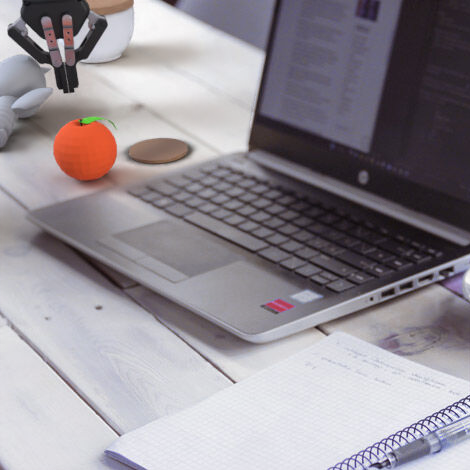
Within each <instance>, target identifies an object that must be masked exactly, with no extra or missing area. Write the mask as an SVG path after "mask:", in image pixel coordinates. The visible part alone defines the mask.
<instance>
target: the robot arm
mask: <svg viewBox="0 0 470 470" xmlns="http://www.w3.org/2000/svg"><path fill="white" fill-rule="evenodd" d="M21 3H22V4H21V8H20V11H19V13H20V14H19V15H20V16H19V17H18V18H17V19H16V20H15V21H14V22H12V23H9V24H8V25H7V36H8V37H9V38H10V39H11V40H12V41H13V42H15V44H16V45H18V46H19V47H20V48H21V49H22V50H24V52H26V53H27V55H29V56H30V57H32V58H33V59H34V60H36V61H37V63H38V64H39V65H45V64H47V65H50V66H51V68H53V73H54V79H55V84H56V88H57V89H58V90H59V91H61V90H62V93H63V94H64V95H65V94H73V93H75V89H78V88H79V87H80V86H79V84H80V82H79V75H78V69H77V64H78V63H79V61H81V60H85V59H87V58H88V57H89V55H90V54H91V52H92V50H93V49H94V47H95V46H96V44H97V42H98V41H99V39H100V38H101V36H102V34H103V33H104V31H105V30H106V28H107V26H108V23H107V19H106V17H105V16H104V15H98V14H96V13H94V12H93V11H91V10H90V7H89V4H88V3H87V1H86V0H21ZM87 18H88V19H89V21H88V27H89V29H90V30H89V32H88V33H87V35H86V36H85V38H84V40H83V41H82V43H81V45H80V46H79V48H77V49H75V50H74V37H75V36H76V35H78V33H79V31H80V30H81V28H82V26H83V24H84V23H85V21H86V19H87ZM27 26H28V27H29V28H30V29H31V30H32V31H33V32H34V33H35V34H36V35H37V36H38V37H39V38H40V39H42V40H43V41H44V40H45V42H46V45H47V49H48V51H47V50H44V49H43V48H42V47H41V46H40V45H39V44H38V43H37V42H36V41H35V40H34V39H32V38H31V37H30V36H29V28H28V27H27ZM58 39H63V40H64V48H63V49H64V60H65V61H63V58H62V57H63V56H62V55H61V51H60V46H59V41H58Z"/></svg>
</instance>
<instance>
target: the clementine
mask: <svg viewBox="0 0 470 470" xmlns="http://www.w3.org/2000/svg"><path fill="white" fill-rule="evenodd" d="M101 120H105V121H108V122H109V123H110V124H112V125H113V127H114V128H115V130H116V131H118V129H117V126H116V125H115V123H114V122H112V120H109V119H107V118H104V117H101V116H87V117H84V118H77V119H73V120H70V121H69V122H67V123H66V124H65V125H63V126H62V127H61V128H60V129H59V130H58V132H57V133H56V135H55V137H54V141H53V147H52V149H53V151H52V152H53V158H54V161H55V162H56V164H57V165H58V167H59V168H60V170H61V171H62V172H63V173H64V174H65V175H66V176H68V177H70V178H72V179H75V180H77V181H84V182H85V181H87V182H88V181H94V180H97V179H101V178H102V177H103V176H105V175H107V173H109V172H110V170H111V169H112V168H113V166H114V165H115V163H116V160H117V156H118V145H117V144H118V143H117V141H116V138H115V136H114V135H113V133H112V131H111V130H110V129H109V128H108V127H107V126H106V125H105V124H103V123H102V122H100V121H101Z"/></svg>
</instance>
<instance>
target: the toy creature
mask: <svg viewBox="0 0 470 470" xmlns="http://www.w3.org/2000/svg"><path fill="white" fill-rule="evenodd" d="M52 68H53V67H47V66H46V67H45V66H41V64H40V63H38V62H37V61H36V60H35V59H34V58H33V57H32V56H30V55H29V54H23V53H22V54H15V55H11V56H10V57H7V58H5V59H3V60H1V61H0V149H1V148H3V147H5V145H6V144H7V142H8V138H9V137H10V136H11V135H12V133H13V129H14V126H15V124H16V123H17V121H18V120H19V119H26V118H30V117H32V116H33V115H35V114H36V113H37V112H38V111H39V109H40V107H41V105H43V104H44V103H45V102H46V100H48V98H50V96H52V94H53V92H54V88H53V87H51V86H47V80H46V79H47V78H46V75H45V74H47V73H48V72H49V71H51V70H52Z"/></svg>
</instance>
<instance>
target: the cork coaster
mask: <svg viewBox="0 0 470 470" xmlns="http://www.w3.org/2000/svg"><path fill="white" fill-rule="evenodd" d="M188 152H189V145H188V144H187V143H186V142H185V141H183V140H180V139H177V138H171V137H170V138H169V137H157V138H149V139H145V140H141V141H139V142H137V143H134V144H133V145H131V146H130V148H129V150H128V155H129V157H130V158H131V159H132V160H134V161H136V162H138V163H141V164H142V163H143V164H165V163H170V162H174V161H177V160H180V159H182V158H183V157H185V156H187V154H188Z"/></svg>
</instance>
